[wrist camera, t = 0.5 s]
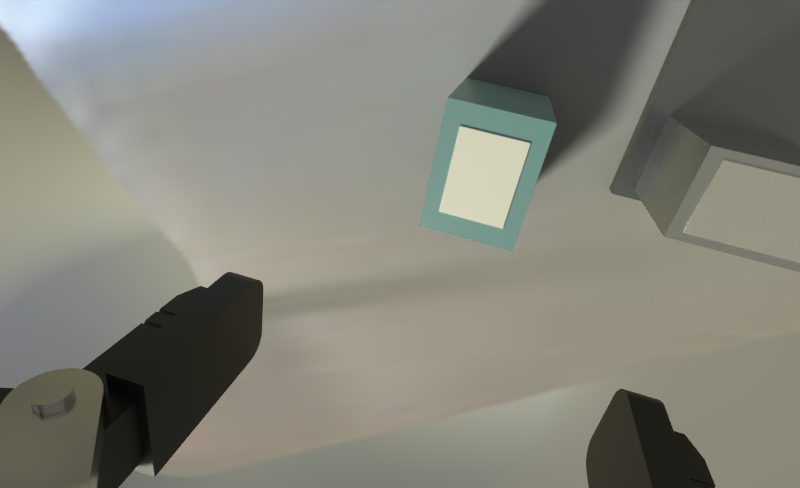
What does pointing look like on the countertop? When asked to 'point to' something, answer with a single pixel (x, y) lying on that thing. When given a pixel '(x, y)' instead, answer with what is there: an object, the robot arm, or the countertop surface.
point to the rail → (725, 75)
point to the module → (487, 162)
